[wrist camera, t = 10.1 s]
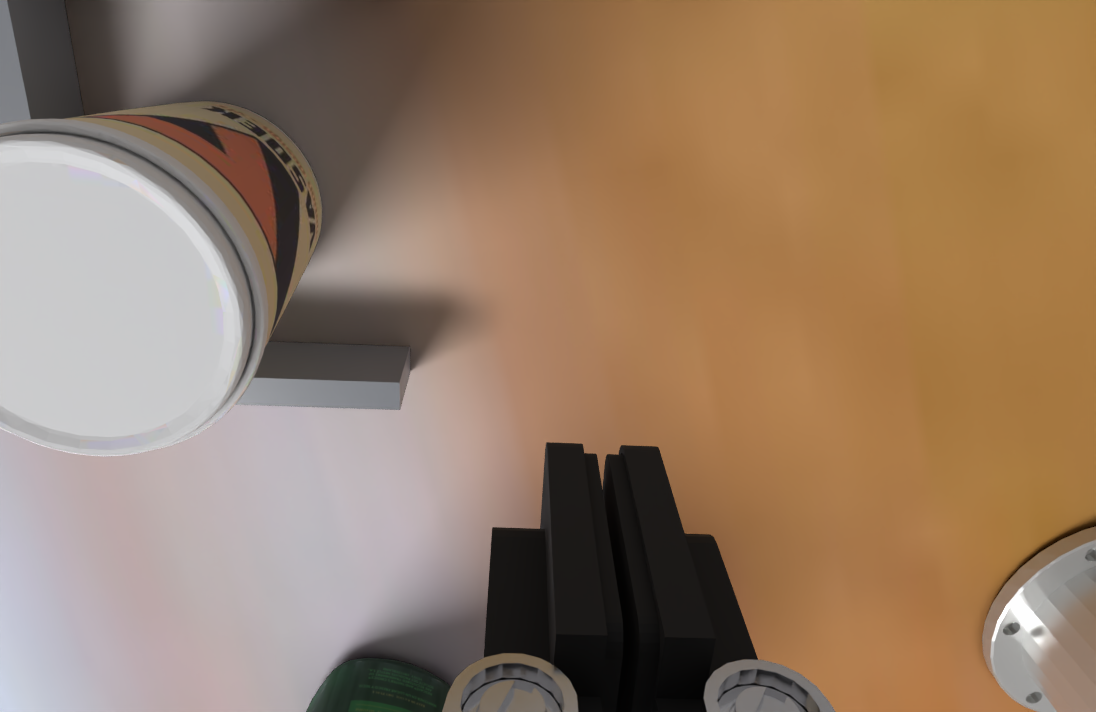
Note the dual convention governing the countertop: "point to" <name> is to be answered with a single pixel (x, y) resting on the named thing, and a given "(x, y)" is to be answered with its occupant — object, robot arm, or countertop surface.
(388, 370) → the tray
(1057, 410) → the countertop surface
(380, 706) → the coffee jar
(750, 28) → the countertop surface
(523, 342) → the countertop surface
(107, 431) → the coffee cup
